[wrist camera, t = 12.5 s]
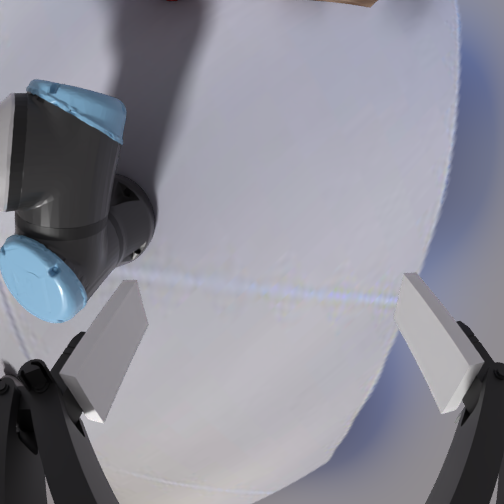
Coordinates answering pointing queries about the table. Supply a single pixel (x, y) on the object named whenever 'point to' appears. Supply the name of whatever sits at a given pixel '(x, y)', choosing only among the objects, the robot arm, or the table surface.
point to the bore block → (354, 2)
